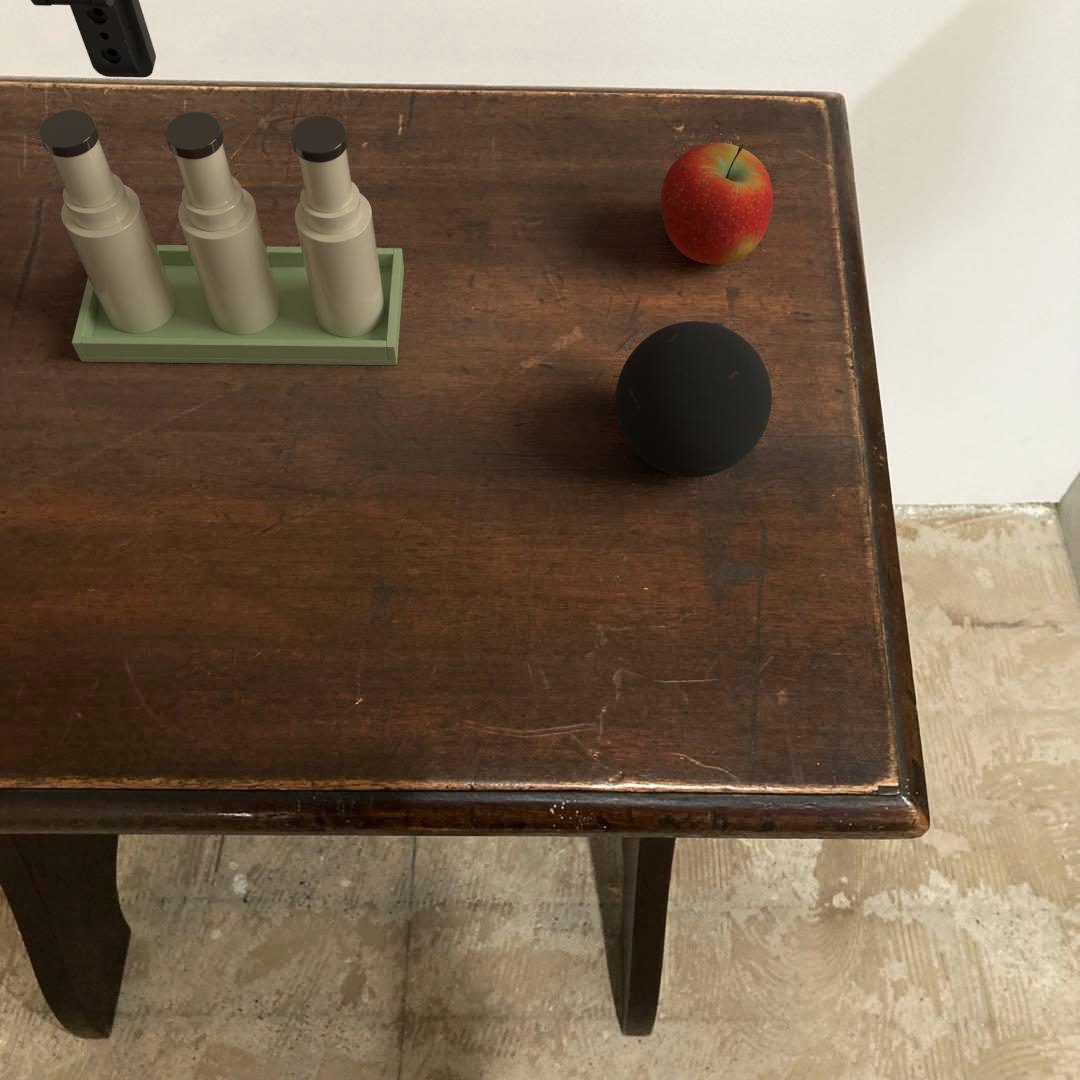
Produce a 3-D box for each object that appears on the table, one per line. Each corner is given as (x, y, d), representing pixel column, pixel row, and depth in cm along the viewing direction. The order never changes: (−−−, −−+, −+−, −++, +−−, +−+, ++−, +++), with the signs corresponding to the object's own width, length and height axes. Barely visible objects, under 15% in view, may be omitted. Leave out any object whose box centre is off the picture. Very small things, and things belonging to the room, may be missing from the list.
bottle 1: (99, 333, 81) (15, 156, 67) (112, 279, 84) (33, 98, 70) (170, 334, 81) (101, 158, 68) (181, 280, 84) (116, 100, 70)
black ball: (583, 462, 78) (592, 370, 69) (654, 363, 82) (671, 265, 73) (714, 530, 75) (740, 444, 67) (780, 425, 80) (813, 331, 71)
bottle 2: (206, 334, 82) (144, 158, 68) (215, 281, 84) (157, 101, 70) (276, 335, 82) (229, 160, 68) (284, 282, 84) (239, 102, 70)
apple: (662, 202, 90) (678, 96, 81) (764, 219, 89) (792, 114, 80) (646, 278, 86) (661, 176, 77) (753, 296, 85) (781, 195, 77)
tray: (81, 362, 81) (71, 342, 79) (105, 263, 85) (96, 243, 84) (397, 365, 81) (394, 346, 80) (404, 267, 86) (401, 247, 84)
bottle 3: (312, 337, 82) (272, 162, 68) (318, 283, 84) (281, 104, 70) (382, 338, 82) (357, 163, 68) (387, 284, 84) (363, 105, 70)
